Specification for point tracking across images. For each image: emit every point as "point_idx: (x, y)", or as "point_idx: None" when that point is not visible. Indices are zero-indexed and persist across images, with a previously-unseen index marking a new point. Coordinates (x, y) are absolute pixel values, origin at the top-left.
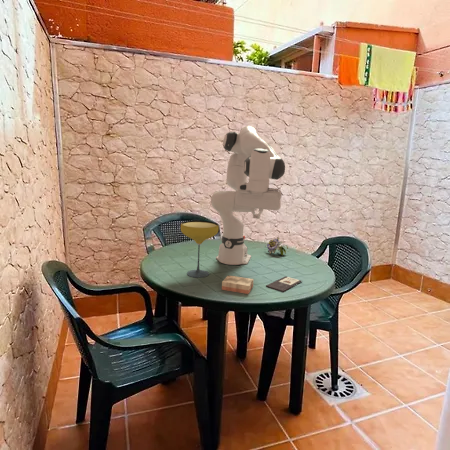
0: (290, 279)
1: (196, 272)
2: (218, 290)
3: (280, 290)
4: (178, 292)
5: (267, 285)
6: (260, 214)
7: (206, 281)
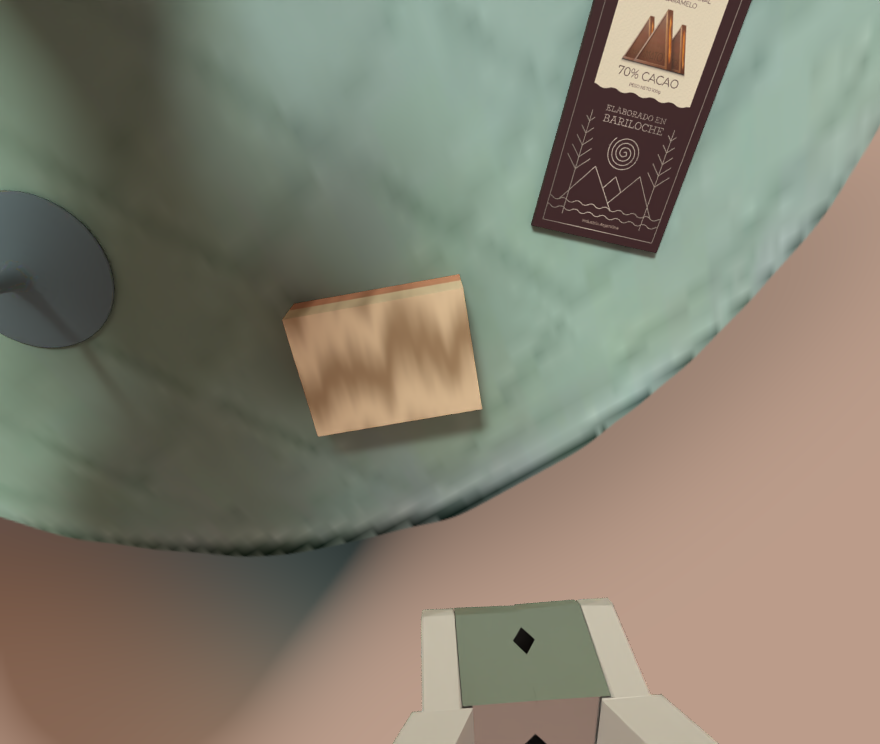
0: None
1: (30, 302)
2: None
3: (636, 248)
4: (180, 547)
5: (541, 217)
6: (660, 708)
7: (178, 359)
